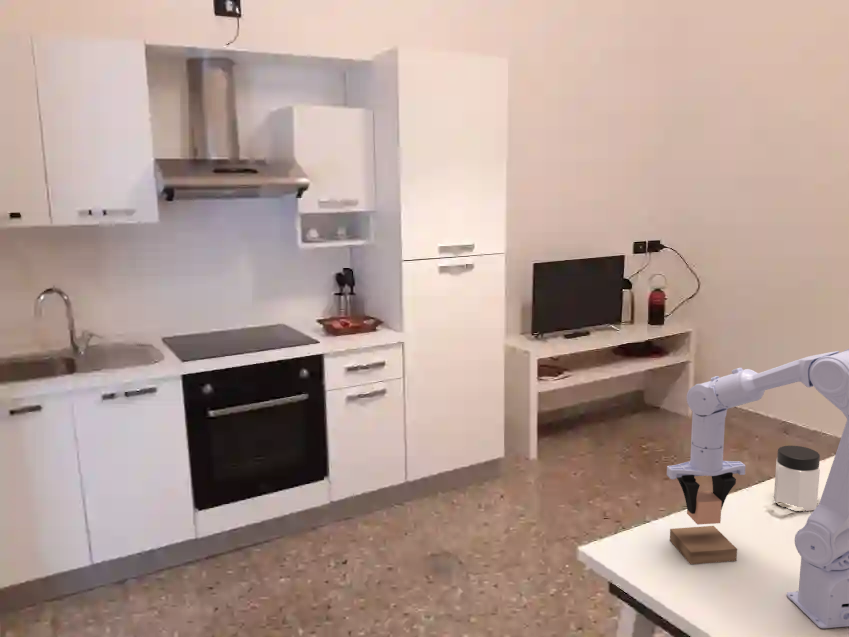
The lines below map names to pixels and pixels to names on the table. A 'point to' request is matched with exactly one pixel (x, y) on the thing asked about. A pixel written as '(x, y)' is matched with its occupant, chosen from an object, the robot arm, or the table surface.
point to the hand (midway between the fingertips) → (703, 510)
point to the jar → (797, 477)
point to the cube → (707, 508)
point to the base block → (703, 545)
